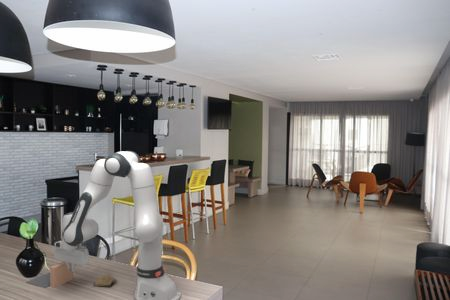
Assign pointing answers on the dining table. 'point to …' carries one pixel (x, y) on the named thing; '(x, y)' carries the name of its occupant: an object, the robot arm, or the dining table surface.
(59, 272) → the tile
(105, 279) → the pottery shard
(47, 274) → the mat
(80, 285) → the dining table surface
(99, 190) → the robot arm
